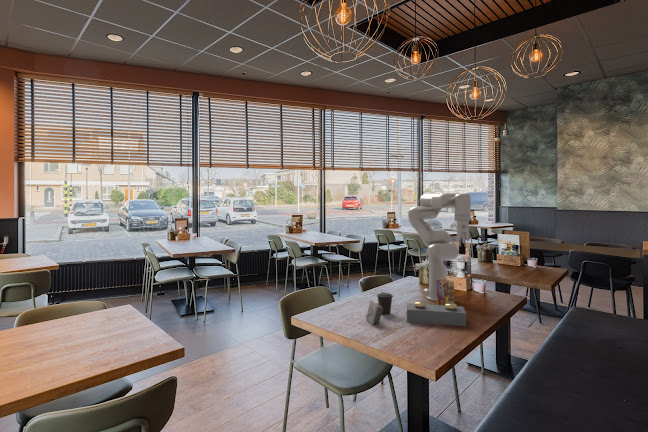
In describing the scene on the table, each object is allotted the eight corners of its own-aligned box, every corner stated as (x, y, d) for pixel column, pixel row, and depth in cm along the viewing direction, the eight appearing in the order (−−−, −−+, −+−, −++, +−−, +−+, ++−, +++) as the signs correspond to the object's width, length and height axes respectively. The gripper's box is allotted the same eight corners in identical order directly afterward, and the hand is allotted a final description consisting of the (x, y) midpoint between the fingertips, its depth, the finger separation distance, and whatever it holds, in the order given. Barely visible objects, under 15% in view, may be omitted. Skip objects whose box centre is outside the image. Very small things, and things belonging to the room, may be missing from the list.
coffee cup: (383, 309, 187) (383, 290, 186) (396, 313, 181) (396, 293, 180) (373, 313, 181) (373, 293, 180) (386, 317, 175) (386, 296, 175)
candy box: (454, 311, 183) (454, 281, 182) (447, 312, 181) (447, 282, 181) (442, 306, 191) (443, 277, 190) (436, 307, 190) (436, 278, 189)
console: (406, 322, 168) (406, 309, 167) (407, 315, 177) (407, 303, 177) (466, 326, 161) (466, 313, 161) (463, 318, 171) (463, 306, 171)
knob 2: (445, 319, 166) (445, 305, 165) (444, 315, 171) (444, 302, 170) (457, 320, 165) (457, 306, 164) (455, 316, 169) (456, 303, 169)
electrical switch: (365, 318, 173) (367, 299, 173) (375, 319, 174) (377, 300, 174) (371, 325, 164) (373, 305, 164) (382, 325, 165) (384, 305, 165)
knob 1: (414, 317, 169) (414, 303, 169) (414, 313, 174) (414, 300, 174) (425, 318, 168) (425, 304, 168) (425, 314, 173) (425, 301, 172)
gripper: (472, 219, 173) (472, 256, 174) (468, 217, 187) (467, 252, 188) (456, 219, 175) (456, 256, 176) (453, 217, 189) (452, 251, 190)
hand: (462, 254), depth 182 cm, fingers closed
